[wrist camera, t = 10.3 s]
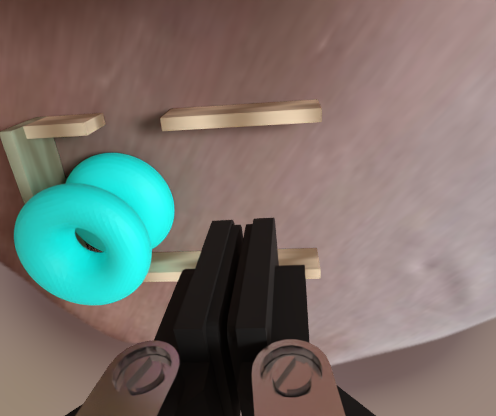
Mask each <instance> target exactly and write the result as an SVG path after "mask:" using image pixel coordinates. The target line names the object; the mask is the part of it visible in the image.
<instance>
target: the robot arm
mask: <svg viewBox="0 0 496 416" xmlns="http://www.w3.org/2000/svg"><path fill="white" fill-rule="evenodd" d="M240 411H241V413H242V416H376V415H374V414H373V413H371V412H370V411H369V410H368V409H367V408H365V407H364V406H363V405H361V404H360V403H359V402H358V401H356V400H355V399H354V398H352V397H351V396H350V395H348V394H347V393H346V392H345V391H343V390H342V389H341V388H340V387H338V386H337V385H336V382H335V379H334V375H333V372H332V369H331V365H330V363H329V361H328V359H327V357H326V355H325V354H324V353H323V352H322V351H321V350H320V349H319V348H318V347H316V346H314V345H312V344H310V343H309V329H308V312H307V295H306V278H305V265H280V266H279V260H278V249H277V239H276V228H275V219H274V218H259V219H254V220H253V224H247V225H246V228H245V233H244V238H243V233H242V227H241V225H234V221H233V220H221V221H212V223H211V226H210V228H209V231H208V234H207V237H206V239H205V242H204V245H203V248H202V251H201V253H200V256H199V259H198V262H197V265H196V267H195V269H184V270H183V271H182V273H181V275H180V277H179V280H178V282H177V285H176V287H175V290H174V292H173V294H172V297H171V299H170V302H169V304H168V307H167V309H166V312H165V314H164V317H163V319H162V322H161V324H160V327H159V329H158V332H157V334H156V336H155V339H154V341H145V342H141V343H137V344H135V345H133V346H131V347H129V348H127V349H126V350H124V351H123V352H122V353H120V354H119V355H118V356H117V357H116V358H115V359H114V360H113V362H112V363H111V364H110V365H109V366H108V368H107V370H106V371H105V372H104V374H103V375H102V377H101V379H100V380H99V381H98V383H97V384H96V386H95V387H94V389H93V390H92V392H91V393H90V395H89V396H88V398H87V399H86V401H85V402H84V404H82V405H81V406H79V407H78V408H76V409H74V410H73V411H71V412H70V413H68V414H67V415H65V416H240Z"/></svg>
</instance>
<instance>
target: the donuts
mask: <svg viewBox="0 0 496 416" xmlns="http://www.w3.org/2000/svg"><path fill="white" fill-rule="evenodd" d="M173 220H174V200H173V197H172V193H171V191H170V189H169V187H168V185H167V183H166V182H165V180H164V179H163V178H162V176H161V175H160V174H159V173H158V172H157V171H156V170H155V169H154V168H153V167H151V166H150V165H149V164H147V163H146V162H144V161H142V160H140V159H138V158H136V157H133V156H130V155H127V154H122V153H102V154H98V155H94V156H91V157H89V158H87V159H85V160H84V161H82V162H81V163H80V164H78V165H77V166H76V167H75V168H74V169H73V170H72V172H71V173H70V175H69V177H68V178H67V181H66V183H65V184H60V185H56V186H52V187H49V188H47V189H44V190H42V191H40V192H39V193H37V194H36V195H34V196H33V197H32V198H31V199H29V200H28V201H27V203H26V204H25V205H24V206H23V208H22V209H21V211H20V213H19V215H18V217H17V219H16V223H15V228H14V243H15V249H16V252H17V255H18V257H19V259H20V261H21V263H22V265H23V267H24V268H25V270H26V271H27V272H28V274H29V275H30V276H31V277H32V279H33V280H34V281H35V282H37V283H38V284H39V285H40V286H41V287H42V288H44V289H45V290H47V291H48V292H50V293H51V294H53V295H55V296H57V297H59V298H61V299H64V300H66V301H69V302H73V303H77V304H83V305H105V304H110V303H113V302H116V301H119V300H121V299H123V298H125V297H127V296H128V295H130V294H131V293H133V292H134V291H135V290H136V289H137V288H138V287H139V286H140V285H141V283H142V282H143V281H144V279H145V277H146V275H147V273H148V271H149V268H150V264H151V258H152V249H153V248H155V247H156V246H157V245H159V244H160V243H161V242H162V241H163V240H164V239H165V238H166V236H167V235H168V233H169V231H170V229H171V227H172V224H173ZM75 232H76V233H77V234H78V235H79V236H80V237H81V238H82V239H83V240H84V241H85V242H87V243H88V244H89V245H91V246H93V247H94V248H96V249H98V250H100V251H103V252H93V251H90V250H88V249H86V248H85V247H83V246H82V245H81V244H80V243H79V242H78V240H77V238H76V236H75Z"/></svg>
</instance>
